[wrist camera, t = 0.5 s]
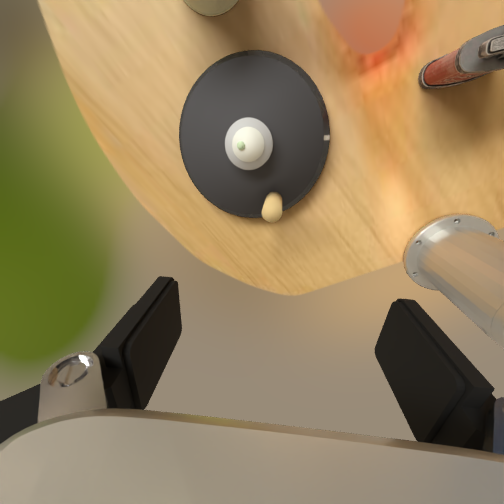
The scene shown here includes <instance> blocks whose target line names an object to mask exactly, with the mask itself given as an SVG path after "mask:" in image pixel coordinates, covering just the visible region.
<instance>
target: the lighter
mask: <svg viewBox="0 0 504 504" xmlns="http://www.w3.org/2000/svg"><path fill="white" fill-rule="evenodd" d="M501 69H504V25H502V26H499V27H497V28H494V29H491V30H489V31H487V32H485V33H483V34H481V35H478V36H476V37H474V38H472V39H470V40H469V41H467V42H465V43H464V44H463V45H462V46H461V47H460V48H459V49H457V50H455V51H453V52H451V53H449V54H446V55H444V56H442V57H440V58H438V59H436V60H433V61H431V62H429V63H428V64H426V65H425V66H424V67H423V68H422V69H421V71H420V73H419V77H418V82H419V85H420V86H421V87H422V88H424V89H435V88H444V87H450V86H455V85H458V84H462V83H465V82H468V81H471V80H474V79H476V78H479V77H481V76H484V75H486V74H488V73H490V72H492V71H497V70H501Z"/></svg>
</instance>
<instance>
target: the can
mask: <svg viewBox="0 0 504 504" xmlns="http://www.w3.org/2000/svg"><path fill="white" fill-rule="evenodd" d="M184 1H185V3H186V4H187V5H188V6H189V7H190V8H191V9H193V10H194V11H196V12H197V13H199V14H202V15H206V16H217V15H221V14H223V13H225V12H227V11H228V10H230V9H231V8H232V7H233V6H234V5H235V4H236V3H237V2H238V0H184Z"/></svg>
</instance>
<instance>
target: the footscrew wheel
mask: <svg viewBox="0 0 504 504" xmlns="http://www.w3.org/2000/svg"><path fill="white" fill-rule="evenodd" d="M181 142H182V150H183V155H184V159H185V162H186V165H187V168H188V170H189V172H190V174H191V176H192V178H193V180H194V181H195V183H196V184H197V186H198V187H199V188H200V190H201V191H202V192H203V193H204V194H205V195H206V196H207V197H208V198H210V199H211V200H212V201H213V202H215V203H216V204H218V205H219V206H221V207H223V208H225V209H227V210H230V211H233V212H236V213H241V214H250V215H255V214H262V216H263V218H264V219H265V220H266V221H268V222H276V221H278V220H279V219H280V218H281V216H282V207H284V206H286V205H287V204H289V203H290V202H292V201H293V200H294V199H296V198H297V197H298V196H299V195H300V194H301V193H302V192H303V191H304V190H305V188H306V187H307V186H308V184H309V183H310V182H311V180H312V178H313V176H314V175H315V173H316V171H317V168H318V165H319V163H320V160H321V156H322V152H323V144H324V126H323V118H322V114H321V110H320V107H319V104H318V102H317V99H316V97H315V95H314V94H313V92H312V90H311V88H310V87H309V86H308V84H307V83H306V82H305V80H304V79H303V78H302V77H301V76H300V75H299V74H298V73H297V72H296V71H294V70H293V69H292V68H290V67H289V66H288V65H286V64H284V63H282V62H280V61H278V60H275V59H272V58H269V57H264V56H242V57H236V58H233V59H230V60H228V61H225V62H223V63H222V64H220V65H218V66H216V67H215V68H214V69H212V70H211V71H210V72H208V73H207V74H206V75H205V76H204V77H203V78H202V79H201V81H200V82H199V83H198V85H197V86H196V87H195V89H194V90H193V92H192V94H191V96H190V98H189V100H188V103H187V105H186V108H185V111H184V115H183V120H182V127H181Z"/></svg>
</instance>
